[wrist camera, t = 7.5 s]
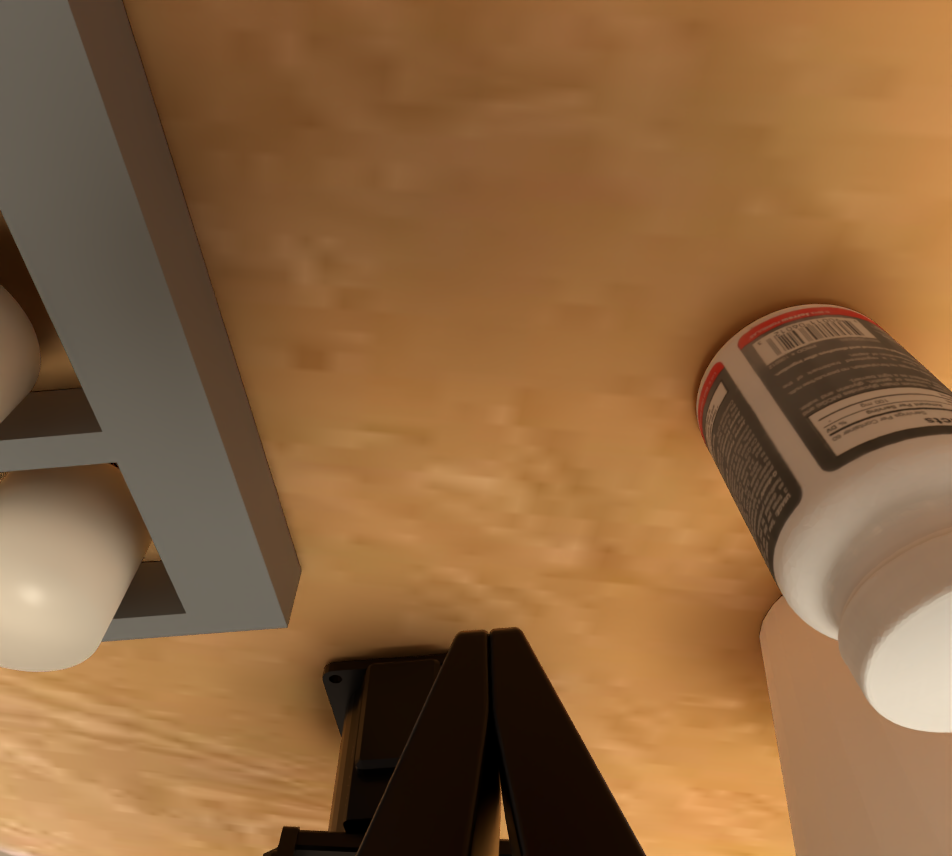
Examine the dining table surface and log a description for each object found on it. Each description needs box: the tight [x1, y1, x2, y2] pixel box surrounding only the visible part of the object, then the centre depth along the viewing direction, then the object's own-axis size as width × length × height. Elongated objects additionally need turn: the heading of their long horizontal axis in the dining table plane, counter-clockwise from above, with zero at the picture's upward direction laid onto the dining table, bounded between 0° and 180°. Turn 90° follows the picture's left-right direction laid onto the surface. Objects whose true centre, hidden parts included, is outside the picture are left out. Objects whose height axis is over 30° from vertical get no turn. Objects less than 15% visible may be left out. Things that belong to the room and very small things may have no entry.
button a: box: [0, 463, 152, 672], centre depth 21 cm, size 5×5×4 cm
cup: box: [759, 596, 952, 856], centre depth 22 cm, size 12×12×12 cm
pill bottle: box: [696, 304, 952, 732], centre depth 17 cm, size 6×6×10 cm
